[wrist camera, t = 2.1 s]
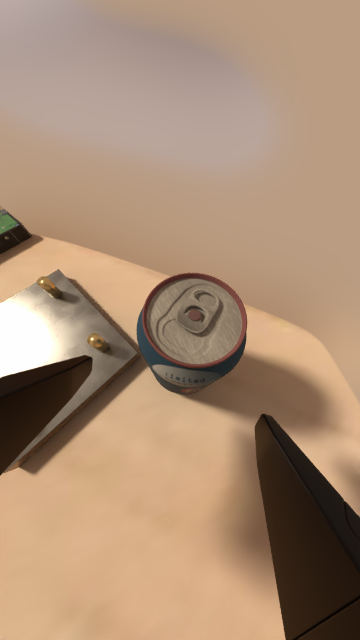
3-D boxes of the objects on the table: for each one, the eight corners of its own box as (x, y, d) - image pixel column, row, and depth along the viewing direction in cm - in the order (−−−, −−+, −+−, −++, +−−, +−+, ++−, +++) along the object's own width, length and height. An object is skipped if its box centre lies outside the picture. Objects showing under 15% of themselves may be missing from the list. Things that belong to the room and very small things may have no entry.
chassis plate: (139, 356, 21) (133, 345, 17) (18, 467, 16) (-27, 485, 12) (64, 276, 25) (46, 254, 21) (-48, 345, 20) (-96, 332, 17)
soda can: (194, 408, 18) (226, 412, 8) (140, 372, 20) (101, 332, 9) (223, 352, 21) (276, 297, 10) (173, 324, 23) (174, 248, 12)
